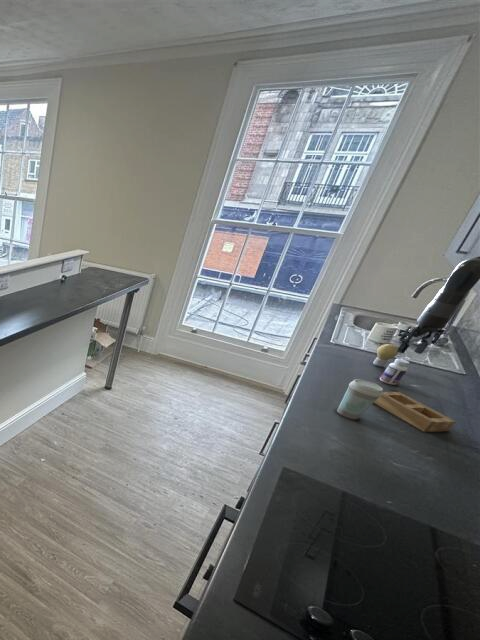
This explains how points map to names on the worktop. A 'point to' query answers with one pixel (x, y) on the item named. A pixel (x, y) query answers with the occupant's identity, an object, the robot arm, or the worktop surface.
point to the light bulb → (385, 354)
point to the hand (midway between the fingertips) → (408, 352)
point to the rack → (414, 412)
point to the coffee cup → (359, 398)
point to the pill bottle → (394, 372)
